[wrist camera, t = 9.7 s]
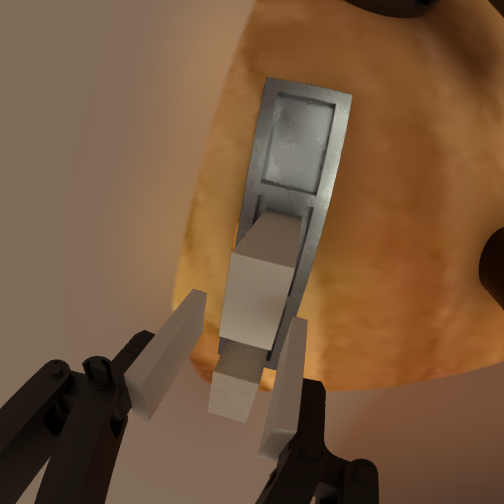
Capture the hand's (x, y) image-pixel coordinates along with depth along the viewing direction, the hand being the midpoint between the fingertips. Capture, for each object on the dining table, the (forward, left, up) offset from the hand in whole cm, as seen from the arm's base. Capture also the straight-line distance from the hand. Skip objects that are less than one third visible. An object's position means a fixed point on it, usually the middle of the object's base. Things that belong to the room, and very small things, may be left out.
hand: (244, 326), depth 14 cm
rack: (0, 0, -15) cm, 15 cm away
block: (0, 0, -14) cm, 14 cm away
